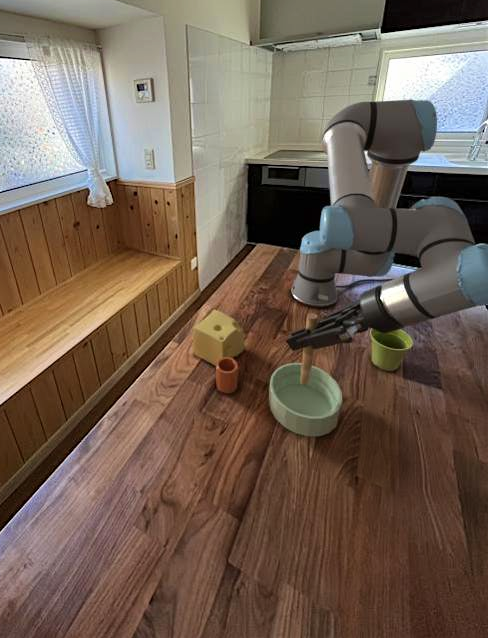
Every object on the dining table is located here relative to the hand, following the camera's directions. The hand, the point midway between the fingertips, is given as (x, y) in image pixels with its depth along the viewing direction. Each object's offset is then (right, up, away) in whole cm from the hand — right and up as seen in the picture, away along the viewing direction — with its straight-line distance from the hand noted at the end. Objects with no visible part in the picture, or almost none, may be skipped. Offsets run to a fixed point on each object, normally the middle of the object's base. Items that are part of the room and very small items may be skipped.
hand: (292, 341), depth 73 cm
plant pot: (+29, -11, +16) cm, 35 cm away
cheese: (-14, -10, +22) cm, 28 cm away
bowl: (+4, -17, +4) cm, 18 cm away
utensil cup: (-13, -15, +11) cm, 22 cm away
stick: (+3, -10, +2) cm, 10 cm away
